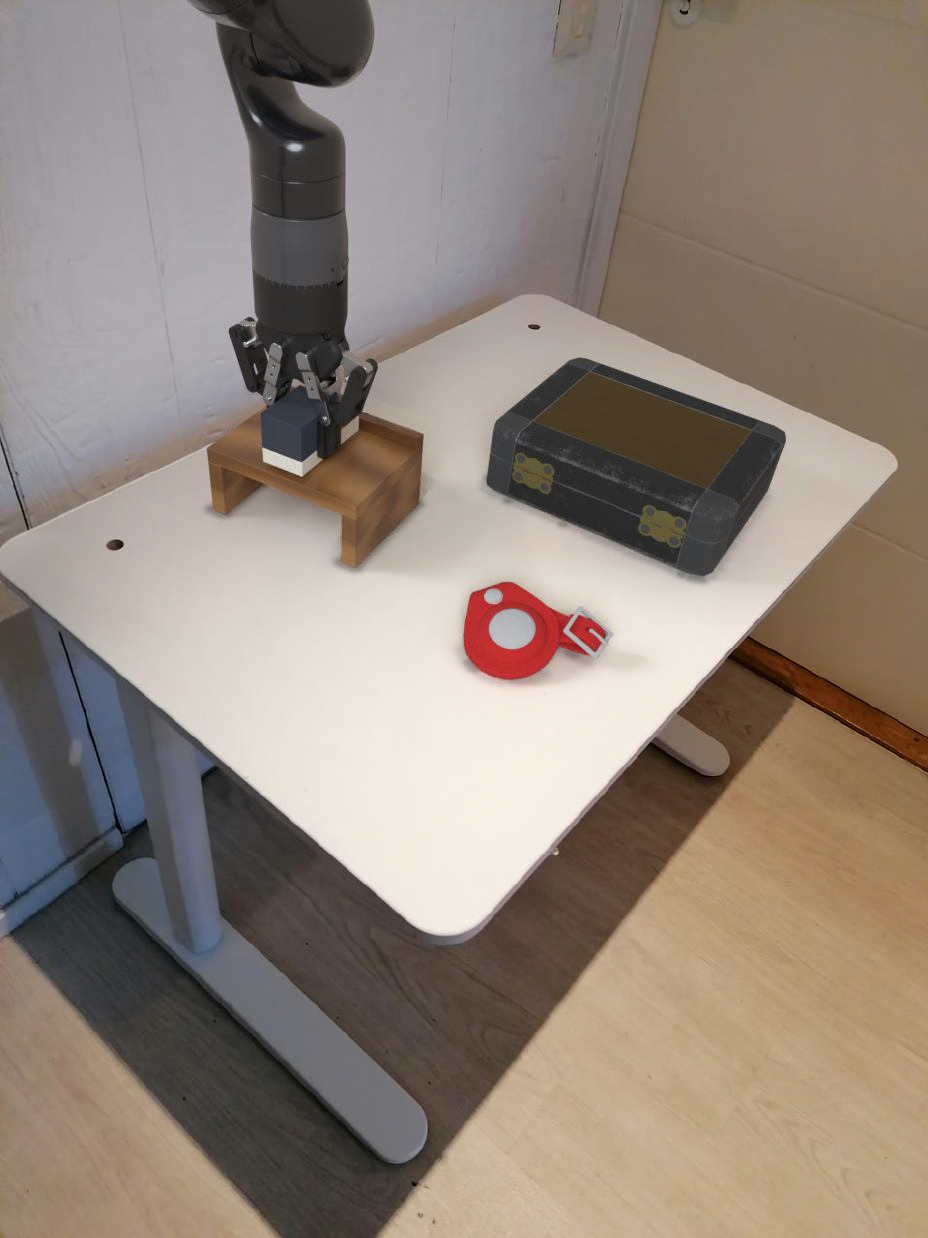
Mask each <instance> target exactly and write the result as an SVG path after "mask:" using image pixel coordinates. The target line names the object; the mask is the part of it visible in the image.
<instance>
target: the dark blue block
mask: <svg viewBox="0 0 928 1238" xmlns="http://www.w3.org/2000/svg"><path fill="white" fill-rule="evenodd" d="M341 396H343V394H342V393H341ZM328 403H329V402H328ZM329 406H330V405H329ZM260 416H261V433H262V447H263V448H262V449H263V462H265V463H268V464H270V465H273V466H276V467H278V468H281V469H283V470H286V471H288V472H291V473H294V474H296V475H299V476H301V477H303V476H304V475H305V474H306V473H307V472H309V471H310V470H311V469H312V468H313V467H315V466H316V465H317V464H318V463H319V462H321V461H322V460H323V459H321V458H319V457H317V423H318V422H319V420H318V417H317V413H316V409H315V405H314V402H313V401H310V400H309V398H308V394H307V391H306V387H305V385H302V384H299V385H298V386H295V389H293V390H292V391H291V392H289V393H288V394H286V395H285V396H284V397H282V398H281V399H279V400H278V401H277V402H275V403H274V404H272V405H271V406H270V407H268V408H267V409H265V410H264V411H263V412H261V413H260ZM358 430H359V416H356V417H355V418H354V419H352V420H351V421H350V422H349V423H348V424H347V425H346V426H341V444H342V443H344V442H345V441H346V440H347V439H348V438H350V437H351V436H352V435H353V434H354V433H356V432H357V431H358Z"/></svg>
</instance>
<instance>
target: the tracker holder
mask: <svg viewBox="0 0 928 1238" xmlns="http://www.w3.org/2000/svg"><path fill="white" fill-rule="evenodd" d="M581 614H582V615H581ZM464 617H465V618H464V623H463V624H464V625H463V635H462V636H463V638H462V639H463V648H464V652H465V655H466V656H467V658H468V660H469V661H470V662H471V664H472V665H474V666H475V667H476V669H478V670H479V671H481V672H482V673H483V674H486V675H488V676H490V677H492V678H496V679H500V680H508V681H509V680H511V681H512V680H522V679H526V678H529V677H531V676H534V675H535V674H537V673H539V672H540V671H542V670H543V669H544V668H545V667H546V666H547V665H548V664H549V663H550V662H551V660H552V659H553V657H554V656H555V654H556V653H557V650H558V647H561V648H563V649H566V650H568V651H572V652H575V653H578V654H581V655H584V656H591V657H592V658H593V659H595V660H597V659H598V658H599V657H600V655H601V653H602V652H603V651H604V649H605V648H606V646H608V645H609V641H610V640H611V638H612V636H613V635H614V634H613V632H612V631H611V630H610V629H609V628H608V627H606V626H605V625H604V624H603V623H602V622H600V621H599V620H598V619H597V618H596V617H594V615H592V614H591V613H590V612H589V611H587V609H586V608H585V607H583V606H578V607H577V609H576V610H575V612H574V613H571V614H569V615H566V614H564V613H562V612H559V611H557V610H555V609H554V608H552V607H550V606H549V605H547V604H546V603H544V602H543V601H542V600H541V599H540V598H538V597H537V596H536V595H534V594H532V593H531V592H529V591H528V590H527V589H525V588H524V587H522V586H521V585H519V584H517V583H516V582H513V581H502V582H499V583H496V584H493V585H489V586H487V587H484V588H481V589H478V590H474V591H472V592H471V593H470V595H469V598H468V603H467V607H466V613H465V616H464Z"/></svg>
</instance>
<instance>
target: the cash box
mask: <svg viewBox="0 0 928 1238" xmlns="http://www.w3.org/2000/svg"><path fill="white" fill-rule="evenodd" d="M786 442H787V435H786V432H785V430H783V429H781V428H779V426H777V425H774V424H772V423H768V422H767V421H763V420H760V419H757V418H755V417H752V416H750V415H746V414H744V413H740V412H738V411H735V410H732V409H730V408H727V407H724V406H721V405H718V404H716V403H713V402H710V401H707V400H705V399H702V398H699V397H696V396H694V395H690V394H688V393H685V392H682V391H679V390H676V389H673V388H671V387H668V386H665V385H663V384H660V383H658V382H654V381H652V380H649V379H645V378H644V377H640V376H637V375H634V374H631V373H628V372H626V371H623V370H621V369H617V368H616V367H612V366H609V365H606V364H604V363H601V362H598V361H596V360H592V359H589V358H586V357H580V356H579V357H575V358H572V359H569V360H568V361H566V362H565V363H564V364H563V365H562V366H560V367H559V368H557V369H556V370H555V371H554V372H553V373H552V374H551V375H549V376H548V377H547V378H545V380H543V381H542V382H541V383H540V384H539V385H537V386H535V388H533V390H531V391H530V392H529V393H527V394H526V395H524V397H522V398H521V399H520V400H519V401H517V403H515V404H514V405H513V406H512V407H510V409H508V410H507V411H506V412H504V414H502V415H501V416H500V417H499V418H497V419H496V420H495V422H494V426H493V429H492V435H491V444H490V450H489V459H488V466H487V476H486V481H485V482H486V486H488V487H489V488H490V489H491V490H492V491H494V492H496V493H498V494H501V495H503V496H505V497H507V498H510V499H512V500H514V501H517V502H520V503H521V504H524V505H527V506H529V507H532V508H534V509H536V510H539V511H541V512H544V513H545V514H548V515H550V516H553V517H555V518H558V519H559V520H563V521H564V522H566V523H569V524H572V525H574V526H576V527H578V528H581V529H583V530H586V531H588V532H590V533H593V534H595V535H598V536H601V537H602V538H605V539H607V540H609V541H611V542H614V543H617V544H619V545H621V546H623V547H625V548H628V549H631V550H634V551H635V552H637V553H641V554H643V555H645V556H648V557H650V558H652V559H654V560H657V561H658V562H662V563H664V564H666V565H668V566H671V567H673V568H676V569H678V570H681V571H683V572H685V573H687V574H690V575H695V576H700V577H705V576H707V575H710V574H712V573H713V572H714V571H715V570H716V569H717V567H718V565H719V563H720V562H721V561H722V559H723V557H724V556H725V555H726V554H727V552H728V551H729V549H730V547H731V546H732V545H733V543H734V541H735V540H736V539H737V537H738V536H739V534H740V533H741V532H742V530H743V528H744V527H745V525H746V524H747V522H748V521H749V520H750V519H751V516H752V515H753V514H754V512H755V510H756V509H757V508H758V506H759V505H760V504H761V502H762V500H763V499H764V497H765V496H766V494H768V492H769V489H770V487H771V484H772V481H773V478H774V475H775V472H776V469H777V467H778V465H779V462H780V459H781V456H782V453H783V450H784V448H785V445H786Z"/></svg>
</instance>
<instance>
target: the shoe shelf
mask: <svg viewBox="0 0 928 1238" xmlns="http://www.w3.org/2000/svg"><path fill="white" fill-rule="evenodd" d="M295 388H296V386H292V385H291V388H290V392H291V391H292V390H293V389H295ZM265 409H267V405H265V406H263V407H262V408H260V410H258V411H257V412H255V413H254V414H252V415H251V416H250V417H248V418H247V419H245V420H243V421H242V422H241V423H240V424H238V425H237V426H235V427H234V428H232V429H231V430H230V431H228V432H226V433H225V434H224V435H222V436H221V437H219V438H218V439H217V440H215V441H214V442H213V443H212V444H210V445H208V446H207V447H206V455H207V463H208V464H207V465H208V473H209V474H208V475H209V482H210V492H211V493H210V494H211V502H212V503H211V504H212V511H215V512H218V513H220V514H223V515H227V514H228V513H230V512H231V511H232V510H234V508H236V507H237V506H238V505H240V504H241V503H242V502H243V501H245V500H246V499H247V498H249V496H251V495H252V494H253V493H255V492H257V490H258V489H259V488H261V487H262V486H264V485H266V486H269V487H272V488H274V489H276V490H279V491H281V492H284V493H287V494H289V495H292V496H294V497H297V498H300V499H302V500H304V501H307V502H309V503H311V504H314V505H317V506H319V507H322V508H324V509H327V510H329V511H332V512H334V513H337V514H339V515H341V560H340V561H341V564H343V565H345V566H347V567H350V568H352V569H357V567H358V566H359V565H360V564H361V563H363V561H364V560H365V559H366V558H367V557H368V556H369V555H371V554H372V552H373V551H374V550H375V549H376V548H378V546H379V545H381V543H382V542H383V541H384V540H385V539H386V538H387V537H388V536H389V535H390V534H391V533H392V532H393V531H394V530H395V529H396V528H397V527H398V526H399V525H400V524H401V523H402V522H403V521H404V520H405V519H406V518H407V517H408V516H409V515H410V514H411V513H412V512H413V511H414V510H415V509H416V508H417V507H419V505H420V495H421V479H422V469H423V468H422V467H423V452H424V440H425V439H424V437H425V434H424V433H422V432H420V431H417V430H414V429H411V428H410V427H407V426H403V425H401V424H398V423H395V422H392V421H391V420H386V419H384V418H381V417H378V416H375V415H373V414H370V413H368V412H364V411H362V413H361V414H359V415H358V416H359V430H358V431H357V432H356V433H354V434H353V435H352V436H351V437H350V438H348V439H347V440H346V441H345V442H344V443H342V444H341V446H340V448H339V449H338V450H337V451H336V452H335V453H333V454H332V455H331V456H330V457H328V458H327V459H326V460H324V459H323V460H322V461H321V462H319V463H318V464H317V465H316V466H315V467H313V468H312V469H311V470H310V471H309V472H307V473H306V474H305V475H304V476H303V477H301V476H299V475H296V474H294V473H291V472H288V471H286V470H283V469H281V468H278V467H276V466H273V465H270V464H268V463H265V462H263V449H262V448H263V447H262V433H261V416H260V413H261V412H263V411H264V410H265Z"/></svg>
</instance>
